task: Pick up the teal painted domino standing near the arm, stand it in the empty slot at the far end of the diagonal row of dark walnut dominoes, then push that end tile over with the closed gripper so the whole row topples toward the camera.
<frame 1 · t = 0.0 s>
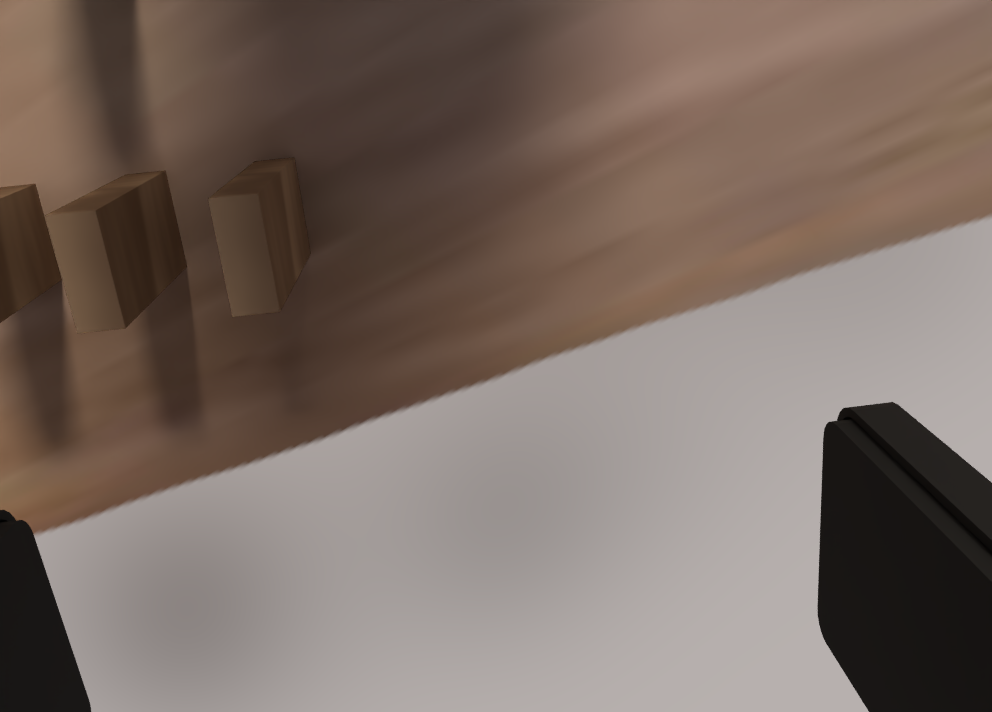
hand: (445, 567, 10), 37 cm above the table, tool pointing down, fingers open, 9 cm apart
domino 2: (29, 234, 46), on the table
domino 3: (156, 221, 46), on the table
domino 4: (283, 208, 46), on the table
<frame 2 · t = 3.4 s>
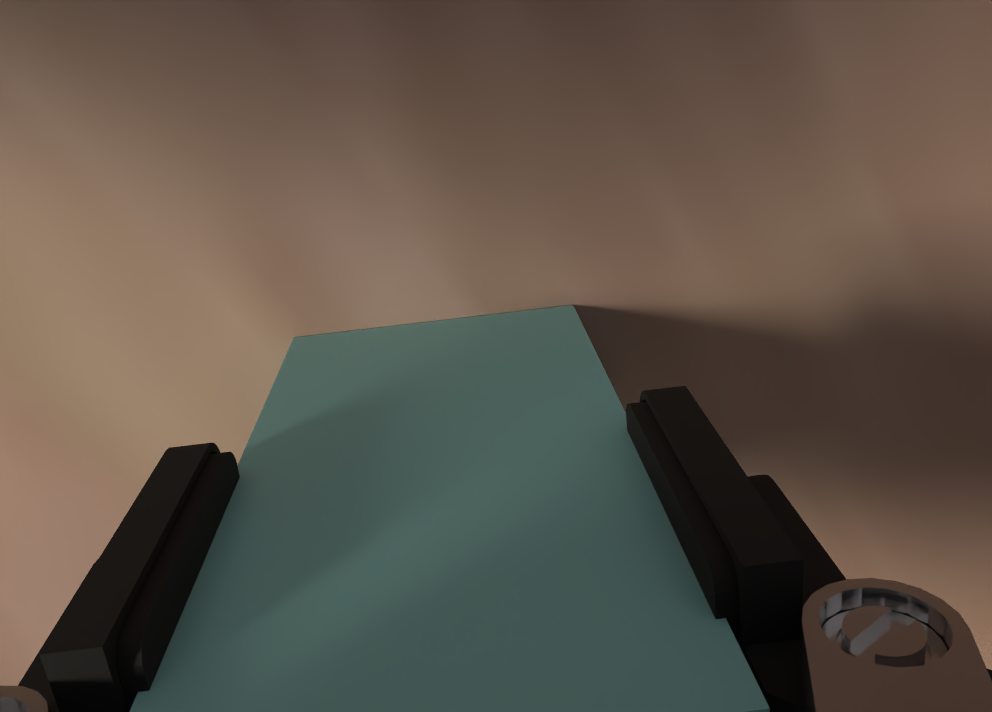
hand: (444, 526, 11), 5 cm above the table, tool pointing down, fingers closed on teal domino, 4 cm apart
teal domino: (440, 372, 16), on the table, touching gripper
when the fingers open (6 cm above the table, at t = 8.1 s): teal domino stays where it is, on the table.
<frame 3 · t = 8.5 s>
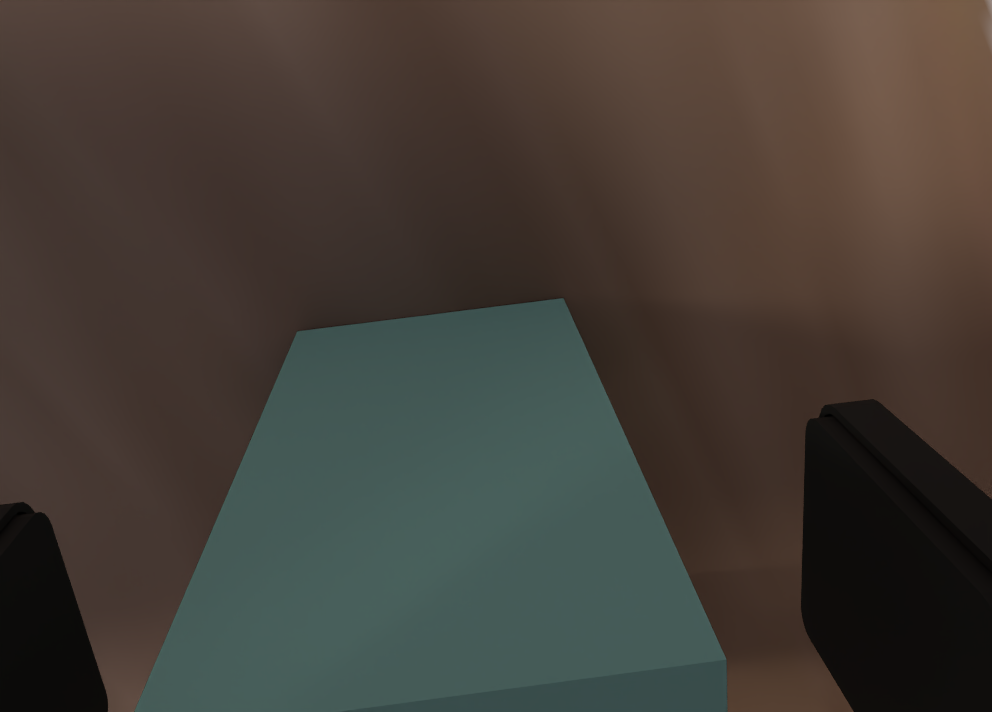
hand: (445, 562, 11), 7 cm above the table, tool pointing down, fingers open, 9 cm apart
teal domino: (437, 364, 17), on the table
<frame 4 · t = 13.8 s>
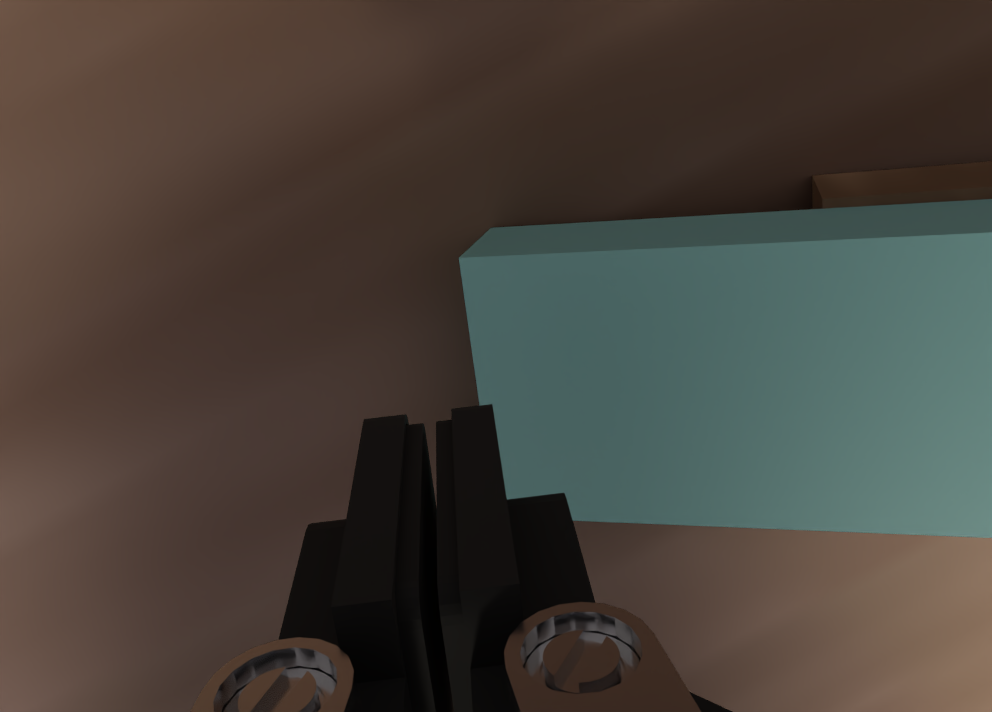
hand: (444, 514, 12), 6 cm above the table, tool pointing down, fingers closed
teal domino: (493, 372, 17), point 1 cm above the table, tilted 71°, touching domino 4
domino 4: (816, 319, 17), point 1 cm above the table, tilted 73°, touching domino 3, teal domino
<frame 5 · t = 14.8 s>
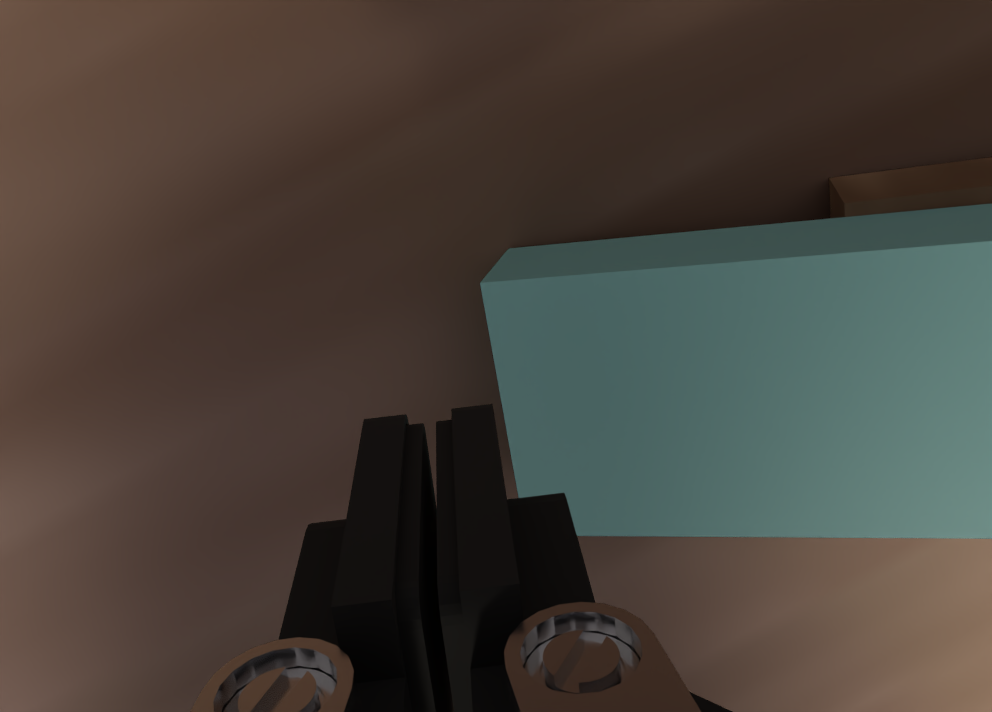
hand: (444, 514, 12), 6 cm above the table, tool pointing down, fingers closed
teal domino: (517, 392, 17), point 1 cm above the table, tilted 71°, touching domino 4
domino 4: (841, 321, 17), point 1 cm above the table, tilted 74°, touching domino 3, teal domino
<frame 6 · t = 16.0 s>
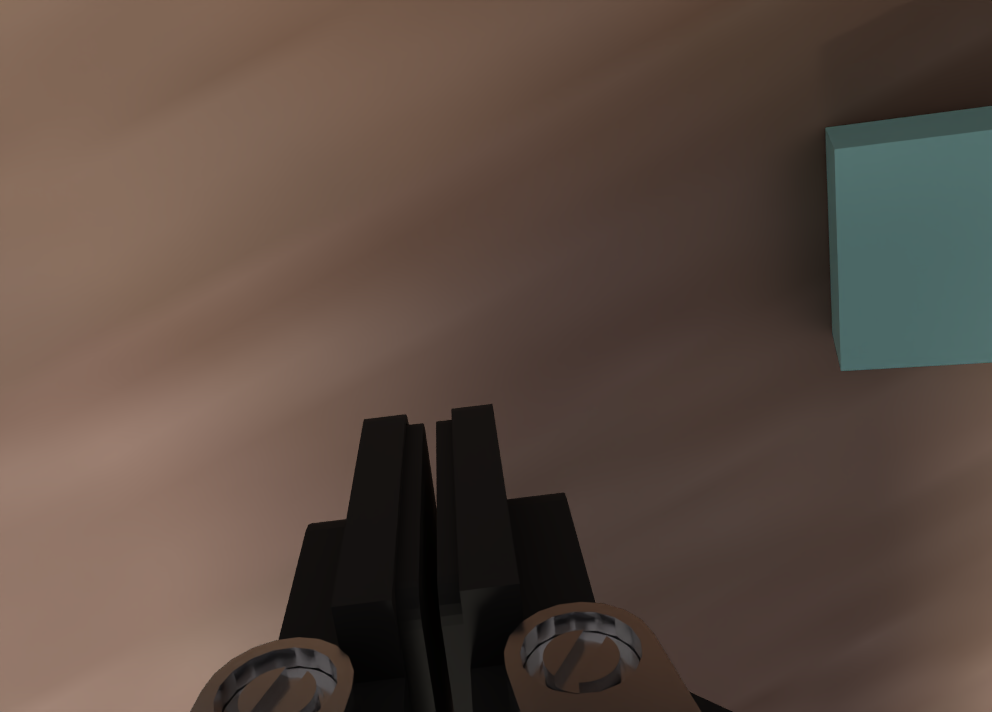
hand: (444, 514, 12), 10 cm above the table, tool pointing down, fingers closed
teal domino: (833, 250, 20), point 1 cm above the table, tilted 72°, touching domino 4
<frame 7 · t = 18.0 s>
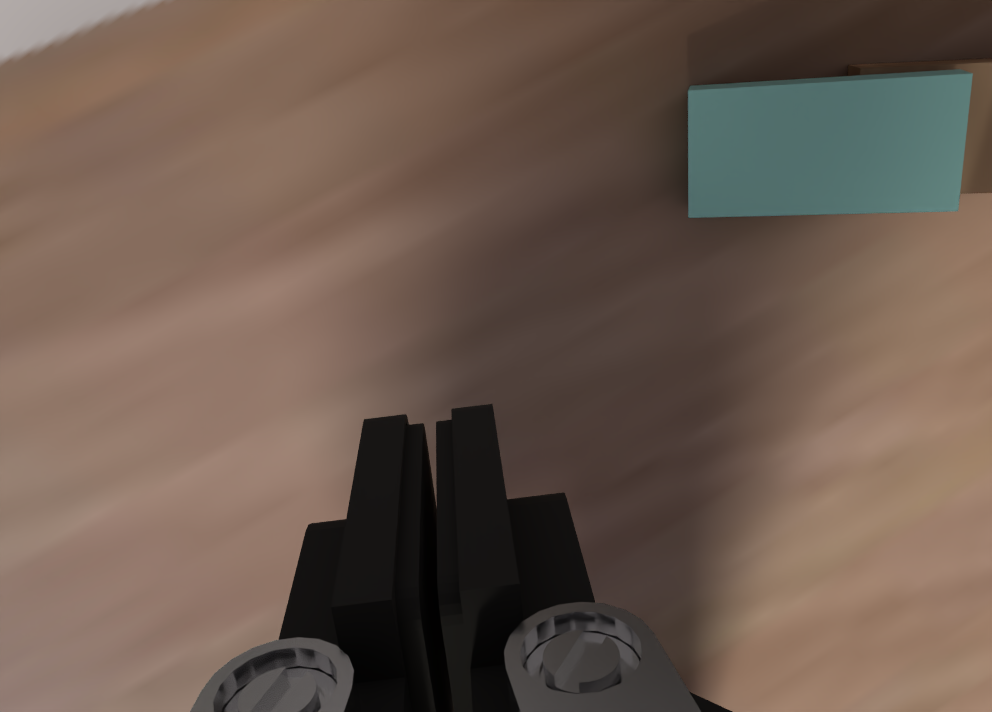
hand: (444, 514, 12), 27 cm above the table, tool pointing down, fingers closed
teal domino: (689, 151, 36), point 1 cm above the table, tilted 72°, touching domino 4
domino 4: (848, 130, 36), point 1 cm above the table, tilted 79°, touching teal domino
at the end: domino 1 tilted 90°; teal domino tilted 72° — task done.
